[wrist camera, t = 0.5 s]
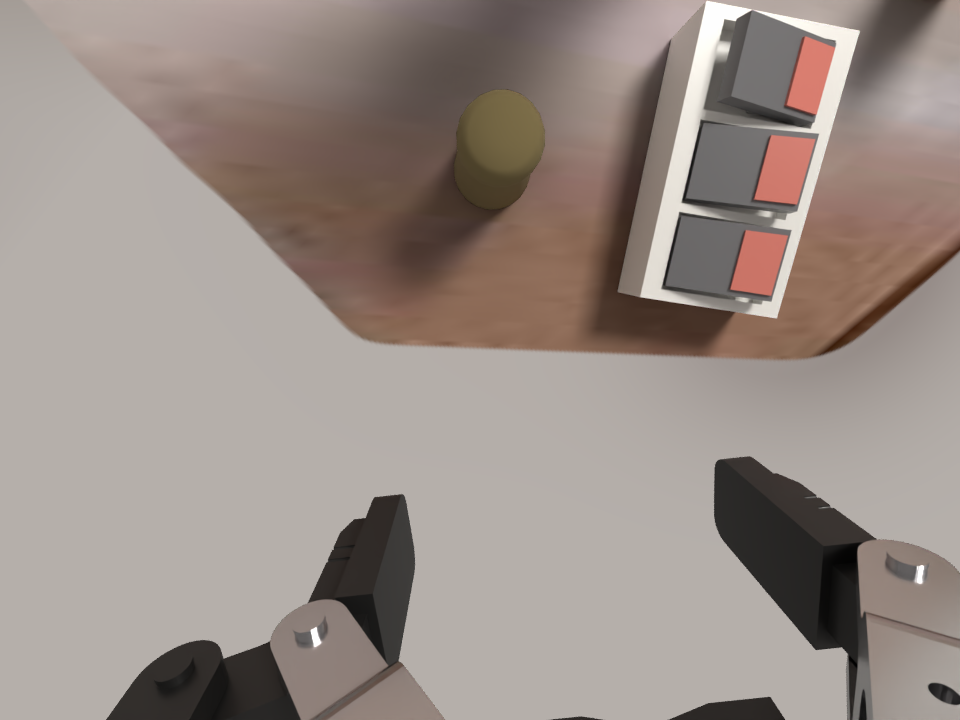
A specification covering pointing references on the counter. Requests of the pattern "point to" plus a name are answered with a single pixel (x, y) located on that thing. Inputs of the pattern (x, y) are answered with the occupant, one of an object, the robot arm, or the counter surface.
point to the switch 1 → (775, 69)
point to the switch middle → (750, 167)
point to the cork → (497, 148)
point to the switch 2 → (726, 258)
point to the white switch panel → (673, 143)
